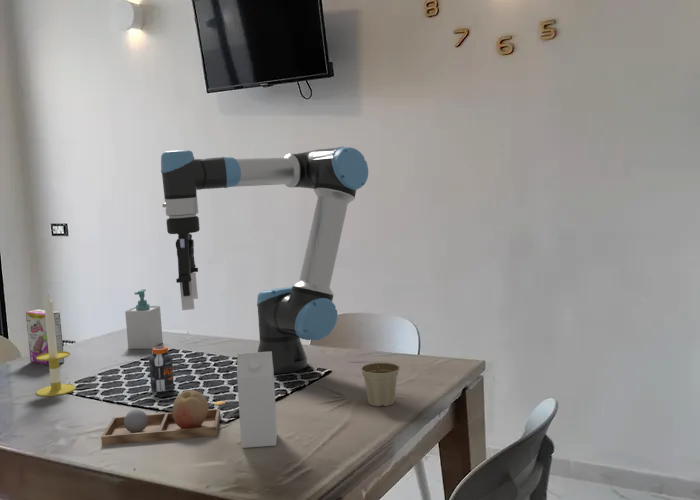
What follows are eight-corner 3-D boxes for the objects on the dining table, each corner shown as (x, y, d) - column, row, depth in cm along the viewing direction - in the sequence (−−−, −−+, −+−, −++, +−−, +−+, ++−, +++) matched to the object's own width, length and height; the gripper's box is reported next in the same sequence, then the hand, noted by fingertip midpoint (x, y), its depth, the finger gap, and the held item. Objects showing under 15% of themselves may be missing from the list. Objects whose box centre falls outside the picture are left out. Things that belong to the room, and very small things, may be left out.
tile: (232, 399, 176) (232, 397, 176) (230, 408, 169) (230, 406, 169) (191, 403, 175) (191, 401, 175) (188, 412, 168) (188, 410, 168)
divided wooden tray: (220, 418, 162) (219, 408, 162) (217, 437, 150) (216, 427, 150) (114, 427, 160) (113, 417, 159) (102, 447, 148) (101, 436, 147)
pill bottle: (167, 392, 184) (164, 350, 183) (147, 392, 186) (143, 350, 184) (177, 385, 190) (174, 344, 189) (157, 385, 191) (154, 344, 190)
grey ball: (150, 427, 157) (148, 405, 156) (146, 435, 152) (144, 412, 151) (127, 429, 156) (125, 407, 156) (122, 437, 151) (121, 414, 151)
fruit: (165, 432, 153) (162, 396, 153) (186, 419, 161) (184, 385, 160) (196, 435, 151) (193, 399, 150) (216, 422, 158) (214, 388, 157)
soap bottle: (127, 349, 235) (123, 292, 233) (139, 342, 244) (135, 288, 242) (151, 349, 234) (147, 292, 232) (163, 342, 242) (158, 288, 240)
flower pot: (405, 397, 172) (404, 363, 171) (395, 410, 163) (394, 374, 162) (368, 395, 175) (367, 361, 174) (356, 407, 166) (355, 372, 165)
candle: (84, 387, 193) (75, 290, 190) (55, 398, 184) (45, 296, 181) (57, 383, 197) (49, 289, 194) (27, 394, 188) (18, 295, 185)
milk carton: (243, 436, 151) (238, 349, 149) (277, 433, 151) (272, 347, 149) (241, 448, 144) (235, 358, 142) (276, 446, 144) (271, 355, 142)
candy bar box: (29, 362, 223) (24, 311, 221) (43, 358, 227) (38, 308, 225) (51, 366, 217) (46, 314, 215) (65, 362, 221) (60, 311, 219)
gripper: (171, 214, 179) (178, 296, 181) (160, 221, 154) (169, 315, 157) (201, 212, 180) (208, 293, 182) (195, 218, 155) (203, 312, 158)
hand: (190, 304), depth 170 cm, fingers open, 13 cm apart
